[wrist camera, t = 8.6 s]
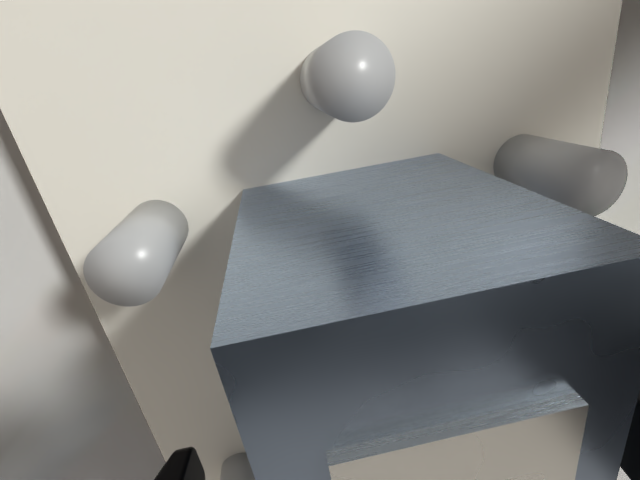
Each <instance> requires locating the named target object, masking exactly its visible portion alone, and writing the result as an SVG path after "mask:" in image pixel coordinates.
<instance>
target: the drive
mask: <svg viewBox="0 0 640 480" xmlns="http://www.w3.org/2000/svg"><path fill="white" fill-rule="evenodd" d="M210 350H211V353H212V356H213V358H214V361H215V364H216V367H217V370H218V373H219V376H220V379H221V382H222V385H223V387H224V390H225V393H226V396H227V399H228V402H229V405H230V408H231V411H232V414H233V416H234V419H235V422H236V425H237V428H238V431H239V434H240V437H241V440H242V443H243V445H244V448H245V451H246V454H247V457H248V460H249V463H250V466H251V469H252V472H253V474H254V477H255V480H617V476H618V472H619V468H620V464H621V460H622V456H623V453H624V449H625V445H626V441H627V437H628V433H629V429H630V425H631V422H632V418H633V414H634V410H635V406H636V402H637V398H638V394H639V390H640V235H638V234H636V233H633V232H631V231H628V230H626V229H623V228H621V227H619V226H616V225H614V224H611V223H609V222H606V221H604V220H601V219H599V218H596V217H594V216H592V215H589V214H587V213H584V212H582V211H579V210H577V209H574V208H572V207H570V206H567V205H565V204H562V203H560V202H557V201H555V200H552V199H550V198H547V197H545V196H543V195H540V194H538V193H535V192H533V191H530V190H528V189H525V188H523V187H521V186H518V185H516V184H513V183H511V182H508V181H506V180H503V179H501V178H498V177H496V176H494V175H491V174H489V173H486V172H484V171H481V170H479V169H476V168H474V167H472V166H469V165H467V164H464V163H462V162H459V161H457V160H454V159H452V158H449V157H447V156H445V155H442V154H440V153H436V154H431V155H426V156H420V157H415V158H410V159H404V160H399V161H394V162H388V163H383V164H377V165H372V166H367V167H361V168H356V169H351V170H345V171H340V172H335V173H329V174H324V175H318V176H313V177H308V178H302V179H297V180H292V181H286V182H281V183H276V184H270V185H265V186H259V187H254V188H249V189H243V192H242V197H241V201H240V206H239V211H238V216H237V221H236V226H235V230H234V235H233V240H232V245H231V250H230V255H229V259H228V264H227V269H226V274H225V279H224V284H223V288H222V293H221V298H220V303H219V308H218V313H217V317H216V322H215V327H214V332H213V337H212V342H211V346H210Z"/></svg>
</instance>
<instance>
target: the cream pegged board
mask: <svg viewBox="0 0 640 480" xmlns="http://www.w3.org/2000/svg"><path fill="white" fill-rule="evenodd" d="M621 7H622V0H2V1H0V109H1V111H2V113H3V115H4V118H5V120H6V122H7V124H8V126H9V128H10V130H11V133H12V135H13V137H14V139H15V141H16V143H17V145H18V147H19V150H20V152H21V154H22V156H23V158H24V160H25V162H26V165H27V167H28V169H29V171H30V173H31V175H32V177H33V180H34V182H35V184H36V186H37V188H38V190H39V192H40V195H41V197H42V199H43V201H44V203H45V205H46V207H47V210H48V212H49V214H50V216H51V218H52V220H53V222H54V224H55V227H56V229H57V231H58V233H59V235H60V237H61V239H62V242H63V244H64V246H65V248H66V250H67V252H68V254H69V257H70V259H71V261H72V263H73V265H74V267H75V269H76V272H77V274H78V276H79V278H80V280H81V282H82V284H83V287H84V289H85V291H86V293H87V295H88V297H89V299H90V302H91V304H92V306H93V308H94V310H95V312H96V314H97V316H98V319H99V321H100V323H101V325H102V327H103V329H104V331H105V334H106V336H107V338H108V340H109V342H110V344H111V346H112V349H113V351H114V353H115V355H116V357H117V359H118V361H119V364H120V366H121V368H122V370H123V372H124V374H125V376H126V379H127V381H128V383H129V385H130V387H131V389H132V391H133V393H134V396H135V398H136V400H137V402H138V404H139V406H140V408H141V411H142V413H143V415H144V417H145V419H146V421H147V423H148V426H149V428H150V430H151V432H152V434H153V436H154V438H155V441H156V443H157V445H158V447H159V449H160V451H161V453H162V456H163V458H164V460H165V462H167V460H168V459H169V457H170V456H171V454H172V453H173V452H174V451H175V450H178V449H182V448H186V447H194V448H195V449H196V451H197V454H198V456H199V459H200V461H201V464H202V466H203V469H204V472H205V480H255V477H254V474H253V472H252V469H251V466H250V463H249V460H248V457H247V454H246V451H245V448H244V445H243V443H242V440H241V437H240V434H239V431H238V428H237V425H236V422H235V419H234V416H233V414H232V411H231V408H230V405H229V402H228V399H227V396H226V393H225V390H224V387H223V385H222V382H221V379H220V376H219V373H218V370H217V367H216V364H215V361H214V358H213V356H212V353H211V350H210V346H211V342H212V337H213V332H214V327H215V322H216V317H217V313H218V308H219V303H220V298H221V293H222V288H223V284H224V279H225V274H226V269H227V264H228V259H229V255H230V250H231V245H232V240H233V235H234V230H235V226H236V221H237V216H238V211H239V206H240V201H241V197H242V192H243V189H249V188H254V187H259V186H265V185H270V184H276V183H281V182H286V181H292V180H297V179H302V178H308V177H313V176H318V175H324V174H329V173H335V172H340V171H345V170H351V169H356V168H361V167H367V166H372V165H377V164H383V163H388V162H394V161H399V160H404V159H410V158H415V157H420V156H426V155H431V154H436V153H440V154H442V155H445V156H447V157H449V158H452V159H454V160H457V161H459V162H462V163H464V164H467V165H469V166H472V167H474V168H476V169H479V170H481V171H484V172H486V173H489V174H491V175H494V176H496V177H498V178H501V179H503V180H506V181H508V182H511V183H513V184H516V185H518V186H521V187H523V188H525V189H528V190H530V191H533V192H535V193H538V194H540V195H543V196H545V197H547V198H550V199H552V200H555V201H557V202H560V203H562V204H565V205H567V206H570V207H572V208H574V209H577V210H579V211H582V212H584V213H587V214H589V215H592V216H596V215H598V214H600V213H602V212H604V211H605V210H607V209H608V208H609V207H611V206H612V205H613V204H614V203H615V202H616V200H617V199H618V198H619V196H620V195H621V193H622V191H623V189H624V187H625V184H626V181H627V165H626V162H625V160H624V159H623V158H622V156H621V155H619V154H618V153H616V152H614V151H610V150H605V149H600V143H601V136H602V130H603V123H604V117H605V110H606V104H607V97H608V91H609V84H610V78H611V72H612V65H613V59H614V52H615V46H616V39H617V33H618V26H619V20H620V13H621Z"/></svg>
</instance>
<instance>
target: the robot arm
mask: <svg viewBox="0 0 640 480" xmlns="http://www.w3.org/2000/svg"><path fill="white" fill-rule="evenodd" d="M620 467H621V468H622V469H623V471H624V472H625V473H626V474H627V476H628V477H629V478H630V479H631V480H640V390H639V394H638V398H637V402H636V406H635V410H634V414H633V418H632V422H631V425H630V429H629V433H628V437H627V441H626V445H625V449H624V453H623V456H622V460H621V464H620ZM154 480H205V472H204V469H203V466H202V464H201V461H200V459H199V456H198V454H197V451H196V449H195V448H194V447H186V448H182V449H178V450H175V451H174V452H173V453H172V454H171V456H170V457H169V459H168V460H167V462H166V463H165V465H164V466H163V468H162V469H161V470H160V472H159V473H158V475H157V476H156V478H155V479H154Z"/></svg>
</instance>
